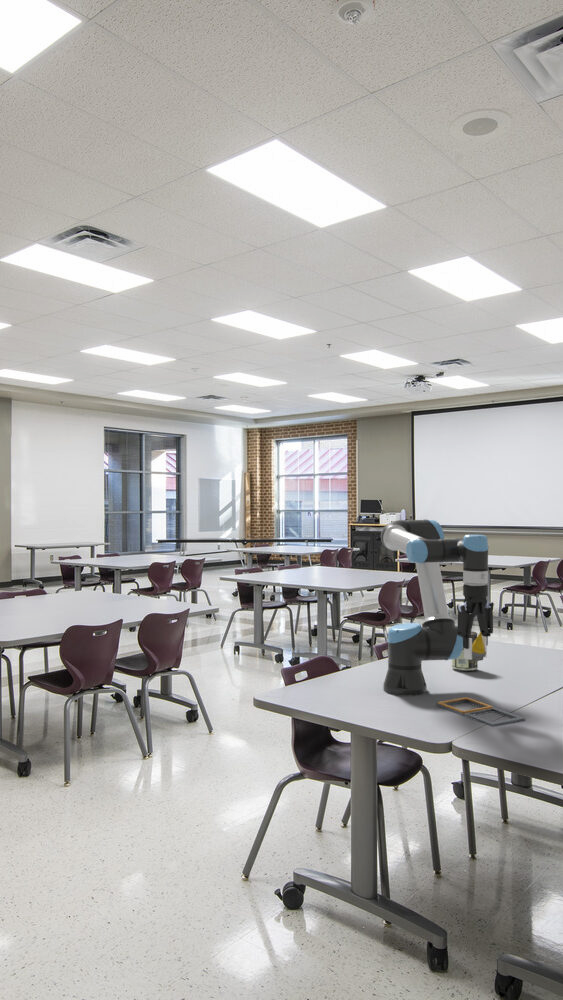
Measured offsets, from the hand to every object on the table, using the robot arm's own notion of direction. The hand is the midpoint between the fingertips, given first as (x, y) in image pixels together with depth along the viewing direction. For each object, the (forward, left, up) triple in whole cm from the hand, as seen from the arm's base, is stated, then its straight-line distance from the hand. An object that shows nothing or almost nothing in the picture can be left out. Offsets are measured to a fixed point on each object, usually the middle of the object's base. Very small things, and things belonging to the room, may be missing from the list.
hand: (475, 657), depth 213 cm
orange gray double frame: (+2, 0, -17) cm, 17 cm away
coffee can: (-48, +39, -17) cm, 64 cm away
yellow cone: (0, 0, -2) cm, 2 cm away
